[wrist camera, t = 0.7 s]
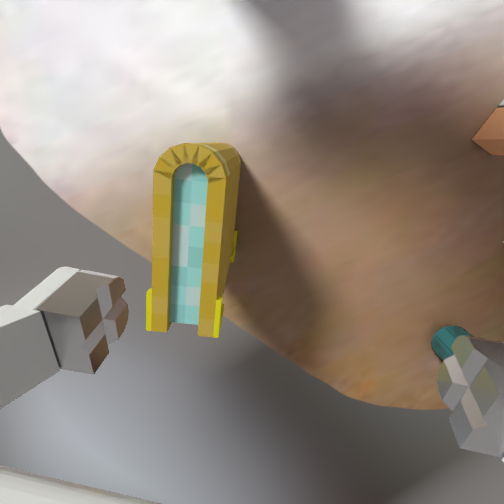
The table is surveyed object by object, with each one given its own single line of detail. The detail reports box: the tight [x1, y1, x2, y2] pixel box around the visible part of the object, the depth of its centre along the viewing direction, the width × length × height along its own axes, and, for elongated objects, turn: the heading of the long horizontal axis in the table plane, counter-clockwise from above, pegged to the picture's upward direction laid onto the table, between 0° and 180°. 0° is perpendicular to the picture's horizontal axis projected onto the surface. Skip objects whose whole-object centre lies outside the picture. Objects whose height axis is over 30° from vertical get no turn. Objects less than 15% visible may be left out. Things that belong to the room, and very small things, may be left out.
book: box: [146, 143, 241, 338], centre depth 40 cm, size 17×7×25 cm, turn 174°
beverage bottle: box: [431, 326, 472, 362], centre depth 49 cm, size 6×7×20 cm
